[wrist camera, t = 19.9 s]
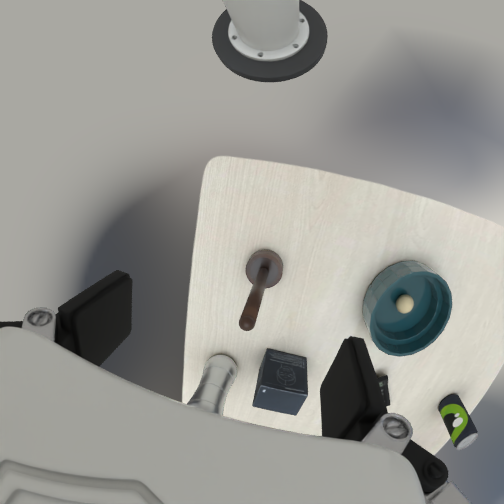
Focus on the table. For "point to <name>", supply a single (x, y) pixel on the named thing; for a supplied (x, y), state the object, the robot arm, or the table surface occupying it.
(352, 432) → the robot arm
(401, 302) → the ball
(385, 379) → the calculator
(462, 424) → the beverage can
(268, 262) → the brown plunger
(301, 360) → the box
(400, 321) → the bowl
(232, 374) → the plastic bottle
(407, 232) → the table surface
